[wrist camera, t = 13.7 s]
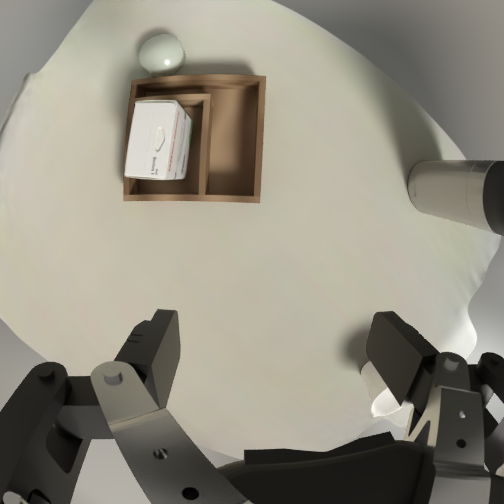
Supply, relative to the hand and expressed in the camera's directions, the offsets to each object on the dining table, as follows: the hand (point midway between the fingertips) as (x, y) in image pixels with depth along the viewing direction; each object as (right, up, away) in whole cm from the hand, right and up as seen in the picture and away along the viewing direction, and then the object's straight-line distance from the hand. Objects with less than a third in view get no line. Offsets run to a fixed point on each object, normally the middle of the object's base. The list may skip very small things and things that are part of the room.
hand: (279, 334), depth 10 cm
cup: (+23, -20, +38) cm, 49 cm away
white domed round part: (-14, +32, +22) cm, 42 cm away
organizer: (-9, +19, +26) cm, 33 cm away
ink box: (-12, +18, +26) cm, 33 cm away
